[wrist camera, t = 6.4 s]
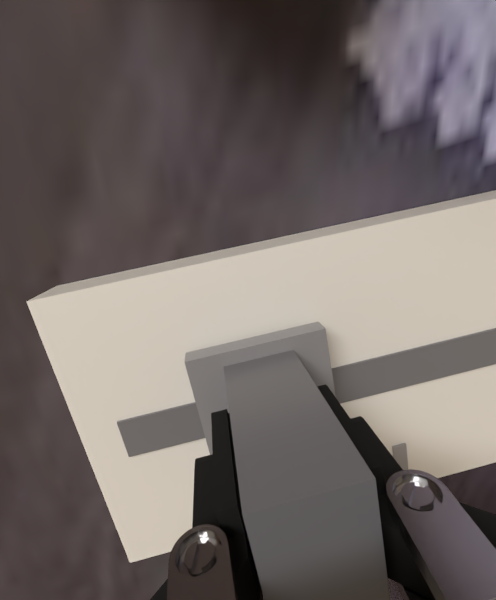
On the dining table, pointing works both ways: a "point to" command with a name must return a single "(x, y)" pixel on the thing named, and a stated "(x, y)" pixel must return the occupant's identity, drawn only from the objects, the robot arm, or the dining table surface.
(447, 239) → the fader console
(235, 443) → the fader tab
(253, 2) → the dining table surface
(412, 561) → the robot arm
